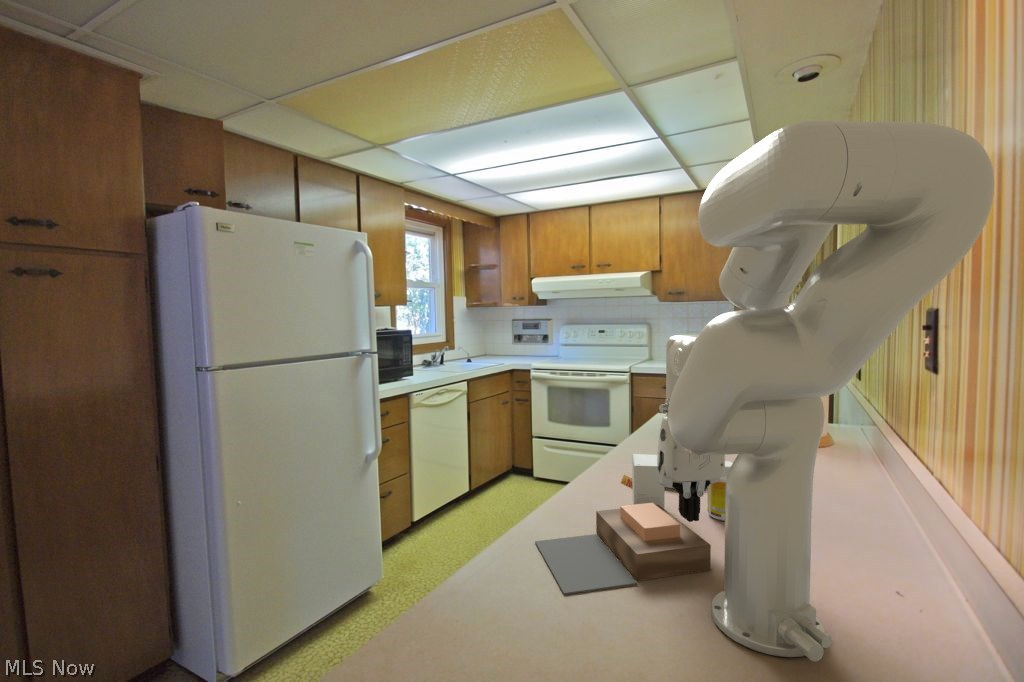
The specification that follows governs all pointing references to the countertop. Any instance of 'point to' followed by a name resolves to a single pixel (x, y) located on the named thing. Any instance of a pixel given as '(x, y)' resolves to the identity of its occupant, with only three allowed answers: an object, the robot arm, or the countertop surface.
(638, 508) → the peach rectangular slab
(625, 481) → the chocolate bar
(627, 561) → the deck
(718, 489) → the supplement bottle
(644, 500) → the small box
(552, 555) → the mat
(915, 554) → the countertop surface
